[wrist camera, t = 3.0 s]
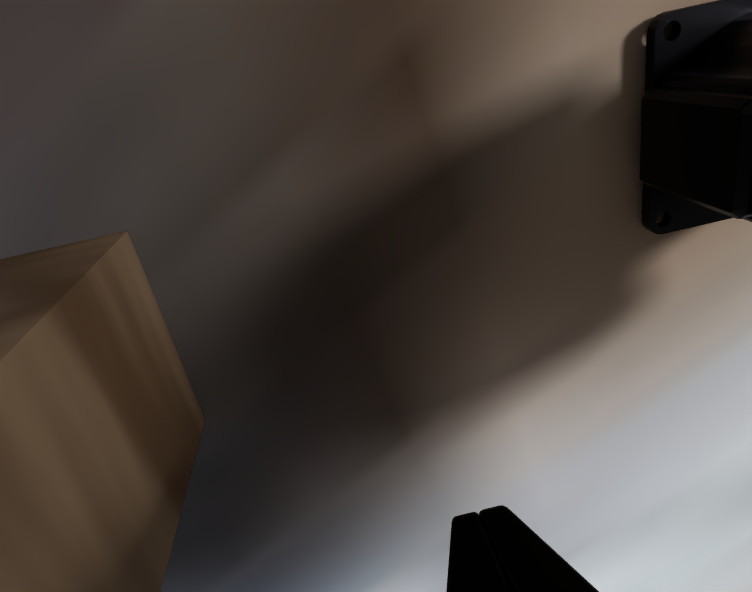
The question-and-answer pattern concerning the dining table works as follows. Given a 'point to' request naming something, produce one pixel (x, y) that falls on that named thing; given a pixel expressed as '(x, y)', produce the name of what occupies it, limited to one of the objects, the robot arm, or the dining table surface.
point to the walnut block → (89, 422)
